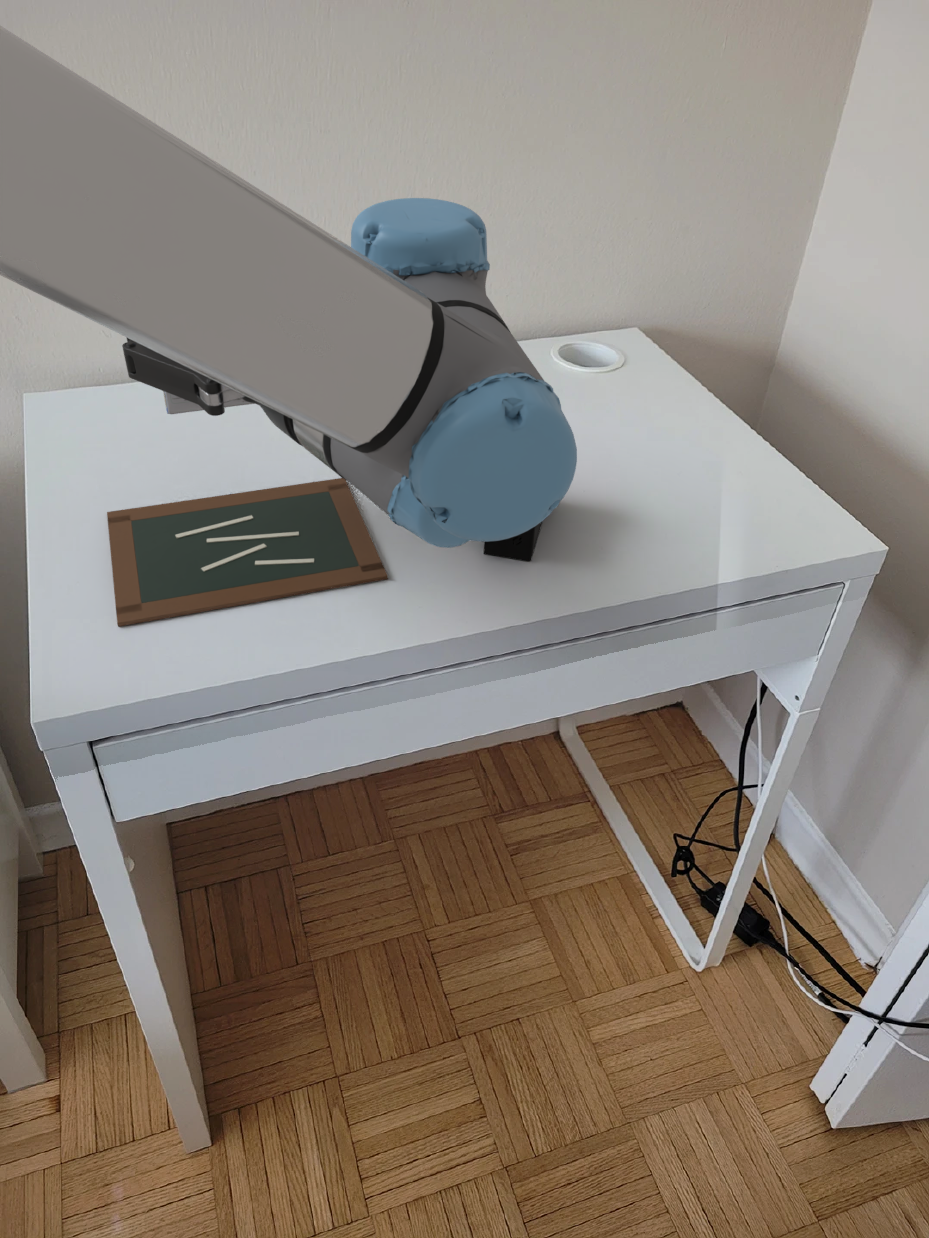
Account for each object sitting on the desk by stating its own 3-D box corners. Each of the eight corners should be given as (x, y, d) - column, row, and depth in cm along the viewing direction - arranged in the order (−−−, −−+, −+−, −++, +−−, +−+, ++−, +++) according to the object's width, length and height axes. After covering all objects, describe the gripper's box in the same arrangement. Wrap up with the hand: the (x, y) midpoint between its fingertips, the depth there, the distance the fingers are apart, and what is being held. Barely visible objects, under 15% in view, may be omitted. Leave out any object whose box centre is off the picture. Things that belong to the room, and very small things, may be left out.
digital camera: (543, 565, 83) (551, 498, 78) (483, 555, 84) (487, 488, 79) (561, 501, 91) (569, 437, 86) (505, 492, 92) (510, 428, 87)
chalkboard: (118, 626, 75) (116, 622, 75) (107, 515, 86) (106, 511, 86) (388, 579, 81) (387, 574, 80) (344, 480, 92) (344, 476, 92)
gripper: (191, 503, 63) (63, 378, 76) (460, 406, 75) (310, 311, 87) (172, 401, 58) (38, 285, 71) (464, 314, 70) (304, 228, 82)
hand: (188, 300), depth 79 cm, fingers closed on ink cartridge box, 11 cm apart
